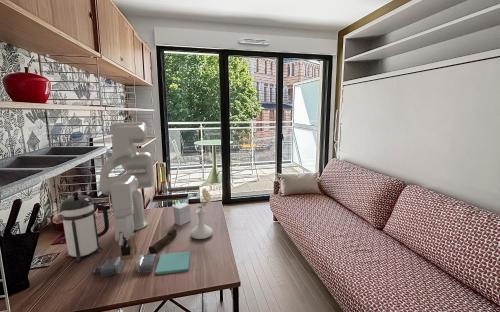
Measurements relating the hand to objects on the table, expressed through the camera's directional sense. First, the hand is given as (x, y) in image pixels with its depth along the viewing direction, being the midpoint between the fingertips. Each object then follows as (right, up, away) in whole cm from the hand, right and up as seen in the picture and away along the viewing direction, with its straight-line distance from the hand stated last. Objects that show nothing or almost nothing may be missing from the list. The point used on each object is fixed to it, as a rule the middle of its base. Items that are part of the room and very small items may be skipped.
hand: (128, 250), depth 106 cm
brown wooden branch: (+8, -4, +20) cm, 22 cm away
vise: (-1, -8, +1) cm, 8 cm away
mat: (+18, -7, +4) cm, 20 cm away
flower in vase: (+26, -2, +28) cm, 38 cm away
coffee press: (-26, -6, +14) cm, 30 cm away
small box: (+11, 0, +44) cm, 45 cm away
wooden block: (0, -2, 0) cm, 3 cm away
